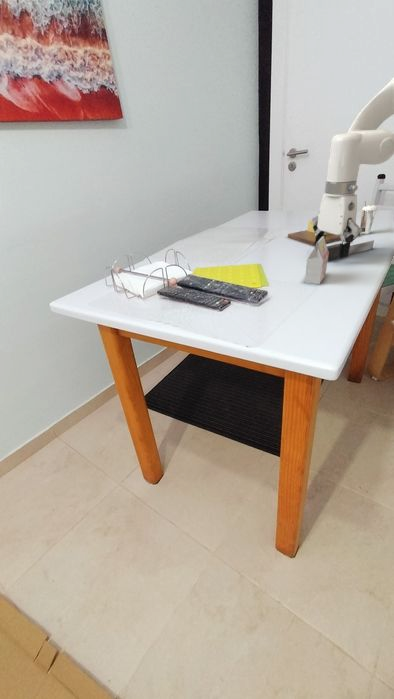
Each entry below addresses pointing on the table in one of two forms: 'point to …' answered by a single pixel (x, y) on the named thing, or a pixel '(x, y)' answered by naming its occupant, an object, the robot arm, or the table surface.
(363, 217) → the milkshake
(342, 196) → the robot arm
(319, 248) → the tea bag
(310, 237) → the board
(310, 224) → the butter block
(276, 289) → the table surface
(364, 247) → the knife
